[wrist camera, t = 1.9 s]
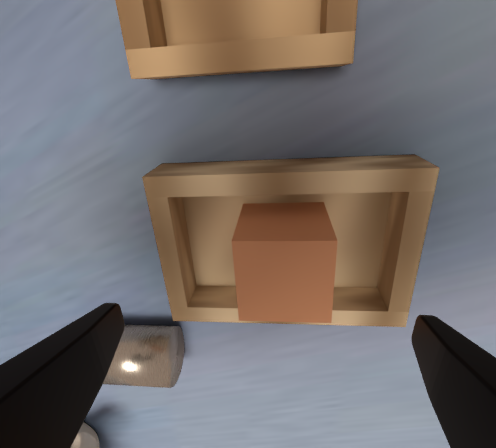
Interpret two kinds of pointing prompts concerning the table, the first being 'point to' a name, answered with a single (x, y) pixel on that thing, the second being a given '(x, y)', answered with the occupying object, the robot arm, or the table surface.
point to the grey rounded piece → (147, 357)
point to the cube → (284, 262)
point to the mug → (86, 438)
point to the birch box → (294, 191)
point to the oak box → (235, 36)
